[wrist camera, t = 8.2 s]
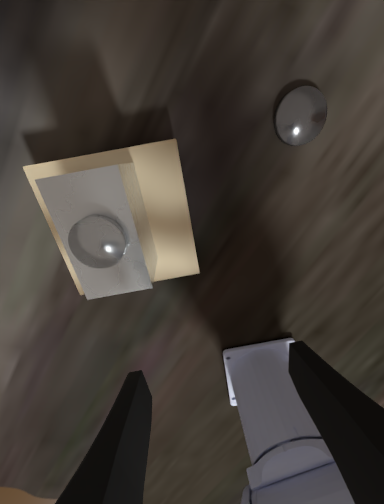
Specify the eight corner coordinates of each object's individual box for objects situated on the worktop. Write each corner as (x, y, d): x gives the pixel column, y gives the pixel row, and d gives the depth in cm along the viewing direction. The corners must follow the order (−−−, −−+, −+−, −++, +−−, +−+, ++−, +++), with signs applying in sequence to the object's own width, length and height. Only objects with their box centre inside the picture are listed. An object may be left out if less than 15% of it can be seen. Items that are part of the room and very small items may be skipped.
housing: (133, 162, 14) (114, 164, 10) (157, 257, 17) (151, 293, 13) (73, 173, 14) (26, 180, 10) (107, 266, 17) (83, 305, 13)
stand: (197, 262, 20) (199, 273, 18) (88, 282, 20) (80, 294, 18) (175, 140, 16) (176, 138, 14) (40, 165, 16) (22, 166, 14)
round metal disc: (317, 142, 17) (323, 141, 16) (271, 148, 17) (275, 148, 16) (322, 86, 16) (330, 82, 15) (272, 92, 15) (277, 89, 15)
